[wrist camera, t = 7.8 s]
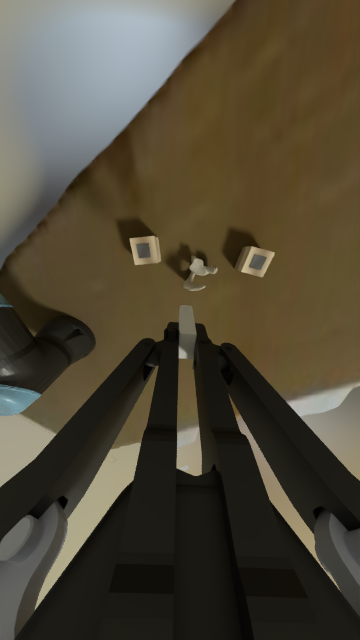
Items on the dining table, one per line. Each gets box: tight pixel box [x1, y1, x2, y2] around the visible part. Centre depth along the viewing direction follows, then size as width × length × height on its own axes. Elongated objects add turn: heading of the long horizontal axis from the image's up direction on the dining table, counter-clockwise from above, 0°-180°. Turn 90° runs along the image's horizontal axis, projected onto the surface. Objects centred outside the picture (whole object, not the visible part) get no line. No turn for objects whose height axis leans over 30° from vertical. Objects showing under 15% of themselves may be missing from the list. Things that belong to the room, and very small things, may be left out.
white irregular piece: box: [183, 255, 218, 291], centre depth 32 cm, size 9×6×10 cm
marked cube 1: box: [234, 246, 275, 277], centre depth 31 cm, size 5×5×5 cm
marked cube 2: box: [129, 236, 161, 265], centre depth 31 cm, size 5×5×5 cm
